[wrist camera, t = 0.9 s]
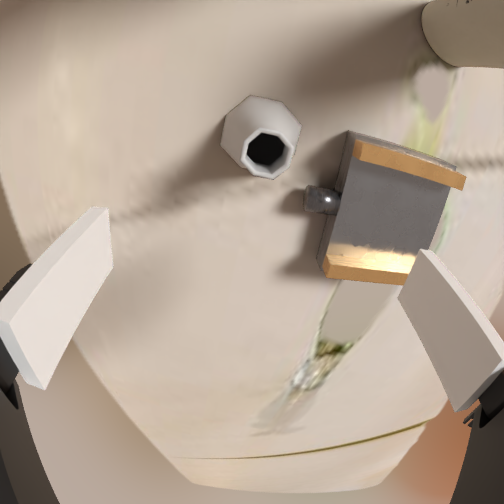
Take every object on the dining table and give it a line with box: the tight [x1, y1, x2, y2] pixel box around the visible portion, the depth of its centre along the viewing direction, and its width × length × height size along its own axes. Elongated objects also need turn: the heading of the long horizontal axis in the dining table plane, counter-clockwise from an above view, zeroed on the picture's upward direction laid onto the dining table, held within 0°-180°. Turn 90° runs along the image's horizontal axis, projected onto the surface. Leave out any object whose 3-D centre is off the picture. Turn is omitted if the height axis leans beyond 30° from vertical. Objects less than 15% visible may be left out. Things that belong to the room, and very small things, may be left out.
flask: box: [220, 95, 302, 180], centre depth 21 cm, size 7×7×10 cm
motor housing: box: [303, 130, 466, 285], centre depth 27 cm, size 14×15×4 cm
